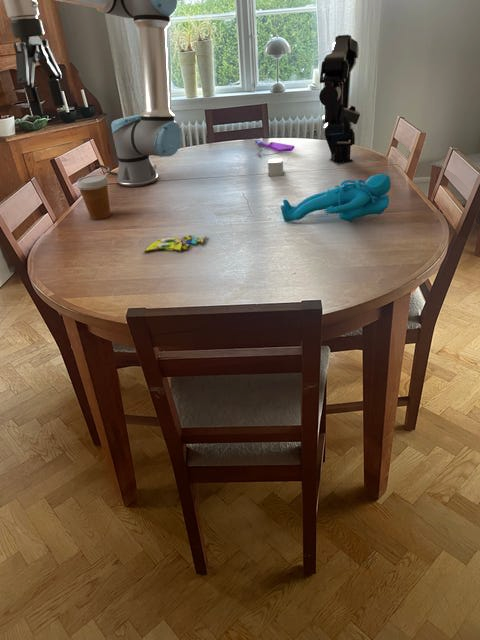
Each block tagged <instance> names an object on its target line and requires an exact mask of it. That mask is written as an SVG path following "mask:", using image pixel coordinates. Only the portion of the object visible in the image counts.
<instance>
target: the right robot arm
mask: <svg viewBox="0 0 480 640" xmlns="http://www.w3.org/2000/svg"><path fill="white" fill-rule="evenodd" d="M358 58H359V43H358V41H356V40H355V39H354V38H352V35H350V34H339V35H337V36H335V39H334V42H333V43H332V51H331V52H330V53H329V54H327V55H325V57H324V58H323V61H321V66H320V75H319V84H324V86H323V87H322V88H321V90H320V92H319V95H318V97H319V103H321V104H322V105H323V107H324V112H323V113H324V114H323V116H322V127H323V133H324V137H325V140H326V143H327V146H328V148H329V151H330V158H329V161H331V162H333V163H335V164H344V163H348V162H352V161H353V158H351V147H352V146H354V145H355V144H356V142H355V141H356V134H355V132H354V128H353V125H357V124H358V121H359V119H360V117H361V113H360V112H359V111H357V109H356V106H354V105H350V92H351V91H350V90H351V78H352V77H351V76H352V75H351V74H352V71H353V69H354V68H355V66H356V64H357V59H358Z"/></svg>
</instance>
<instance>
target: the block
mask: <svg viewBox="0 0 480 640" xmlns="http://www.w3.org/2000/svg"><path fill="white" fill-rule="evenodd" d="M267 162H268V163H267V166H268V167H267V168H268V169H267V170H268V176H269V177H275V176H276V177H277V176H278V177H279V176H283V175H284V158H269V159H268V161H267Z"/></svg>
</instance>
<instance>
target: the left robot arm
mask: <svg viewBox="0 0 480 640" xmlns="http://www.w3.org/2000/svg"><path fill="white" fill-rule="evenodd" d="M2 1H3V4H4V8H5V12H6V16H7V18H8V19H10V22H9V26H10V29H11V32H12V36H13V37H14V38H15V39H19V41H18V42H17V41H16V42H13V48H14V52H15V65H16V67H15V68H16V80H17V85H18V87H19V88H20V89H24V90H25V91H24V92H25V94H26V97H27V101H28V104H29V107H30V111H31V115H32V116H41V115H44V110H43V107H42V104H41V100H40V97H39V93H38V90H37V87H36V86H35V85H34V84H35V70H36V69H35V68H36V64H37V63H38V64H39V65H40V67H41V69H42V70H43V72H44V73H45V74H46V77H48V79H49V80H48V85H49V89H50V93H51V96H52V100H53V104H54V106H55V107H63V106H66V103H65V100H64V96H63V92H62V87H61V83H60V80H62V79H63V77H62V76H63V75H62V72H61V69H60V68H59V65H58V63H57V61H56V58H55V57H54V54H53V52H52V49H51V48H50V45H49V41H48V39H47V38H41V36H44V35H45V30H44V26H43V22H42V19H41V18H39V16H40V12H39V7H38V5H39V2H38V1H37V0H2ZM55 2H61V3H68V4H73V5H79V6H84V7H90V8H95V9H96V10H97V12H99V13H102V14H107V15H112V16H116V17H121V18H125V19H133V24H135V26H136V27H137V28H138V35H139V47H140V48H139V49H140V62H141V65H140V66H141V77H142V93H143V107H144V109H143V111H142V112H141V113H140V114H135V115H130V116H125V117H121V118H118V119H115V120H113V121H112V122H111V124H110V125H111V135H112V140H113V142H114V147H115V151H116V156H117V160H118V167H117V168H118V170H117V172H113V171H110V167H108V166H106V165H104V164H96V165H94V167H93V170H95V169H97V168H102V169H105V170H106V173H107V174H110V175H113V176H117V183H118V186H120V187H123V188H124V187H125V188H136V187H137V188H138V187H145V186H147V185H148V186H149V185H151V184H154V183H156V182H157V181H158V180H159V176H158V172H157V169H158V168H157V167H158V166H157V164H155V165H154V163H153V161H152V159H151V156H154V157H160V158H162V157H172V156H174V155H175V154H176V153H178V151H179V149H180V148H181V145H182V141H183V131H182V128H181V126H180V124H179V123H178V122H177V121H176V120H175V114H174V113H173V112H172V111H171V109H170V107H171V106H170V87H169V69H168V68H169V67H168V47H167V45H168V44H167V29H168V27H170V25H171V16H172V15H174V13H176V10H177V6H178V0H55Z"/></svg>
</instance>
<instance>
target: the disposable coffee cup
mask: <svg viewBox="0 0 480 640" xmlns="http://www.w3.org/2000/svg"><path fill="white" fill-rule="evenodd" d="M108 182H109V179H108V178H107V177H106V175H105V174H90V175H86V176H82V177H80V178H78V179H77V183H76V187H77V188H78V190H79V192H80V195H81V197H82V199H83V202H84V204H85V207H86V209H87V212H88V214H89V217H90V219H92V220H103V219H106V218H109V217H110V216H111V206H110V197H109V196H110V195H109V187H108Z"/></svg>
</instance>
